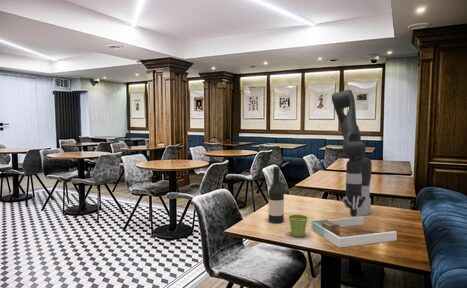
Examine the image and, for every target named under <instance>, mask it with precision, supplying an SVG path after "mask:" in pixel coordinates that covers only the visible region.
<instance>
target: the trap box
mask: <svg viewBox="0 0 467 288" xmlns="http://www.w3.org/2000/svg"><path fill="white" fill-rule="evenodd" d="M326 221H334V222H336V223H338V224H340V228H345V227H354V226H362V225H364V216H355V217H347V218H345V217H344V218H336V219H335V218H334V219H328V218H323V219H311V222H310V223H311V226H310V227H311V230H312V231H313V232H314V233H316V234H318V235H319V236H321V237H322V238H324V239H326V240H327V241H328V242H330V243H331V244H333V245H334V246H336V247H337V248H346V247H354V246H362V245H364V246H365V245H369V244H371V243H372V244H380V243H387V242H395V241H397V239H398V238H397V237H398V236H397V233H398V232H397V231H396V230H393V231H386V232H377V233H373V232H365V233H355V235H352V236H351V235H349V234H347V235H335V234H333V233H332V232H330V231H328V230H327V229H325V228H323V227H322V222H326Z"/></svg>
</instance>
